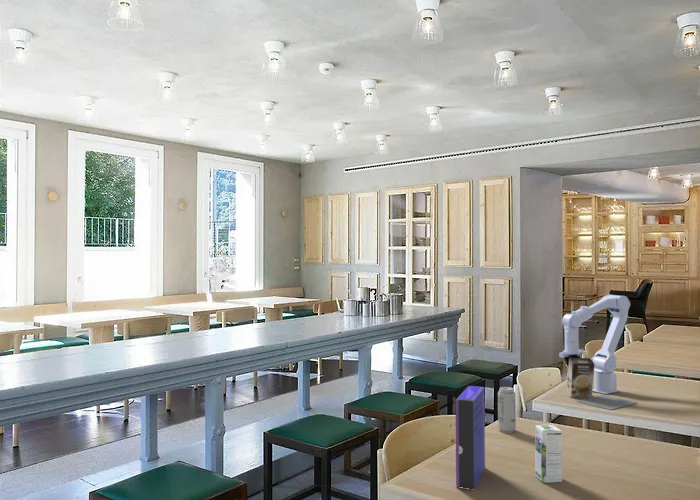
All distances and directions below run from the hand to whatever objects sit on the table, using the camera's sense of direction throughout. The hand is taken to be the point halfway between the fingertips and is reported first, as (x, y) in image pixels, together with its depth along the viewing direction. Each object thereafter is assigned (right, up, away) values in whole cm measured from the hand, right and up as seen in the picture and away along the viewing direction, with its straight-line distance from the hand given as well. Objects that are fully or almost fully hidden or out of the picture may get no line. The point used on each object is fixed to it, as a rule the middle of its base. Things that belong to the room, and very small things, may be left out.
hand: (571, 372), depth 260 cm
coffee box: (+2, -9, -3) cm, 10 cm away
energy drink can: (-42, -11, -51) cm, 67 cm away
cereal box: (-64, -11, -93) cm, 113 cm away
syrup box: (-42, -11, -95) cm, 104 cm away
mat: (+9, -10, -14) cm, 20 cm away
